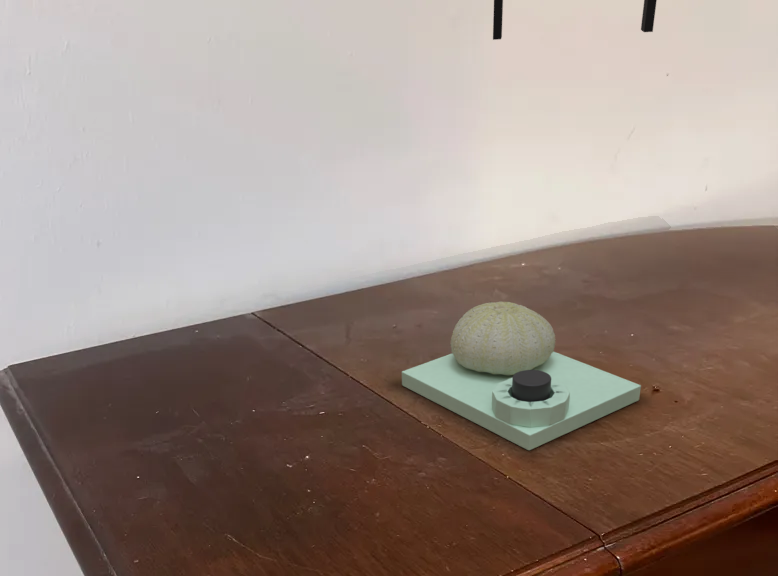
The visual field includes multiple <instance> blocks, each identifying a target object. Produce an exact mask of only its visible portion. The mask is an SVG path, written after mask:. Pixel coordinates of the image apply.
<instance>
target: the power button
mask: <svg viewBox="0 0 778 576" xmlns="http://www.w3.org/2000/svg"><path fill="white" fill-rule="evenodd" d="M550 390H551V376H550V375H549V374H548V373H546V372H543V371H539V370H524V371H520V372H517V373H516V374H514V376H513V378H512V397H513V398H515V399H517V400H519V401H525V402H537V401H544V400H547V399H549V397H550Z"/></svg>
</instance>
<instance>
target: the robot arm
mask: <svg viewBox="0 0 778 576" xmlns="http://www.w3.org/2000/svg"><path fill="white" fill-rule="evenodd" d="M657 1H658V0H643V9H642V14H641V15H642V16H641V23H640V24H641V25H640V31H642V32H643V33H653V32H654V24H655V18H656V17H655V16H656V8H657ZM503 8H504V0H493V19H492V23H493V25H492V41H495V40H497V41H498V40H502V37H503V14H504V13H503V12H504V11H503Z"/></svg>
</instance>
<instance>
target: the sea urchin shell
mask: <svg viewBox="0 0 778 576" xmlns="http://www.w3.org/2000/svg"><path fill="white" fill-rule="evenodd" d="M449 346H450V352H451V353H453V355H454V357H455V359H456V360H457V361H458V363H459V364H461V365H462V366H464V367H465V368H467V369H471V370H475V371H477V372H488V373H491V374H498V375H499V374H502V375H507V376H509V375H514V374H516V373H517V372H520V371H524V370H531V369H533V368H535V367H538V366H539V365H541V364H543V363H544V362H545V361H546V360H547V359H548V358H549V357H550V356H551V354H552V352H555V347H556V333H555V330H554V328H553V326H552V325H551V323H550V322H549V321H548V320H547V319H546V318H545V317H544V316H542V315H541V314H539V313H538V312H536V311H534V310H532V309H531V308H527V306H523V304H518V303H516V302H510V301H496V302H492V301H490V302H485V303H482V304H478V305H476V306H474V307H472V308H471V309H468V310H467V311H466V312H465V313H464V314H463V315H462V316H461V318H460V319H458V320H457V323H456V324H455V325H454V329H452V334H451V338H450V344H449Z"/></svg>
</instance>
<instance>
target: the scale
mask: <svg viewBox="0 0 778 576" xmlns="http://www.w3.org/2000/svg"><path fill="white" fill-rule="evenodd" d="M531 370H539V371H543V372H546V373H548V374H549V375H550V376H551V390H550V397H549V399H547V400H544V401H537V402H525V401H519V400H517V399H515V398H513V397H512V378H513V376H514V375H509V376H507V375H502V374H499V375H498V374H491V373H488V372H477V371H475V370H471V369H467V368H465V367H464V366H462V365H461V364H459V363H458V361H457V360H456V359H455V357H454V355H453V352H451V353H449V354H446V355H443V356H441V357H438V358H435V359H432V360H430V361H427V362H424V363H422V364H419V365H416V366H413V367H410V368H407V369H404V370H402V371H401V385H402V387H404V388H406V389H408V390H409V391H412V392H414V393H416V394H418V395H420V396H422V397H424V398H426V399H428V400H429V401H432V402H433V403H435V404H437V405H439V406H441V407H443V408H444V409H447V410H449V411H451V412H453V413H454V414H457V415H458V416H461V417H463V418H465V419H466V420H469V421H470V422H472V423H474V424H477V425H478V426H479V427H482V428H484V429H486V430H488V431H490V432H491V433H494V434H495V435H497V436H500V437H501V438H503V439H505V440H507V441H509V442H511V443H513V444H515V445H517V446H519V447H520V448H523V449H524V450H526V451H532V450H534V449H535V448H538V447H540V446H542V445H545V444H547V443H549V442H551V441H553V440H556V439H558V438H559V437H562V436H564V435H566V434H568V433H571V432H573V431H575V430H577V429H579V428H581V427H584V426H586V425H588V424H591V423H593V422H595V421H596V420H599V419H601V418H603V417H606V416H608V415H610V414H612V413H614V412H616V411H619V410H621V409H623V408H626V407H628V406H629V405H632V404H634V403H636V402H639V400H640V395H641V390H642V385H641V384H640V383H639V384H638V383H636V382H633V381H630V380H629V379H625V378H623V377H620V376H618V375H616V374H613V373H610V372H608V371H605V370H603V369H601V368H597V367H595V366H592V365H590V364H588V363H584V362H582V361H579V360H577V359H574V358H572V357H569V356H566V355H564V354H561V353H560V352H556V351H554V352H552V354H551V356H550V357H549V358H548V359H547V360H546V361H545V362H544V363H543V364H541V365H539V366H538V367H535V368H533V369H531Z"/></svg>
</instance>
